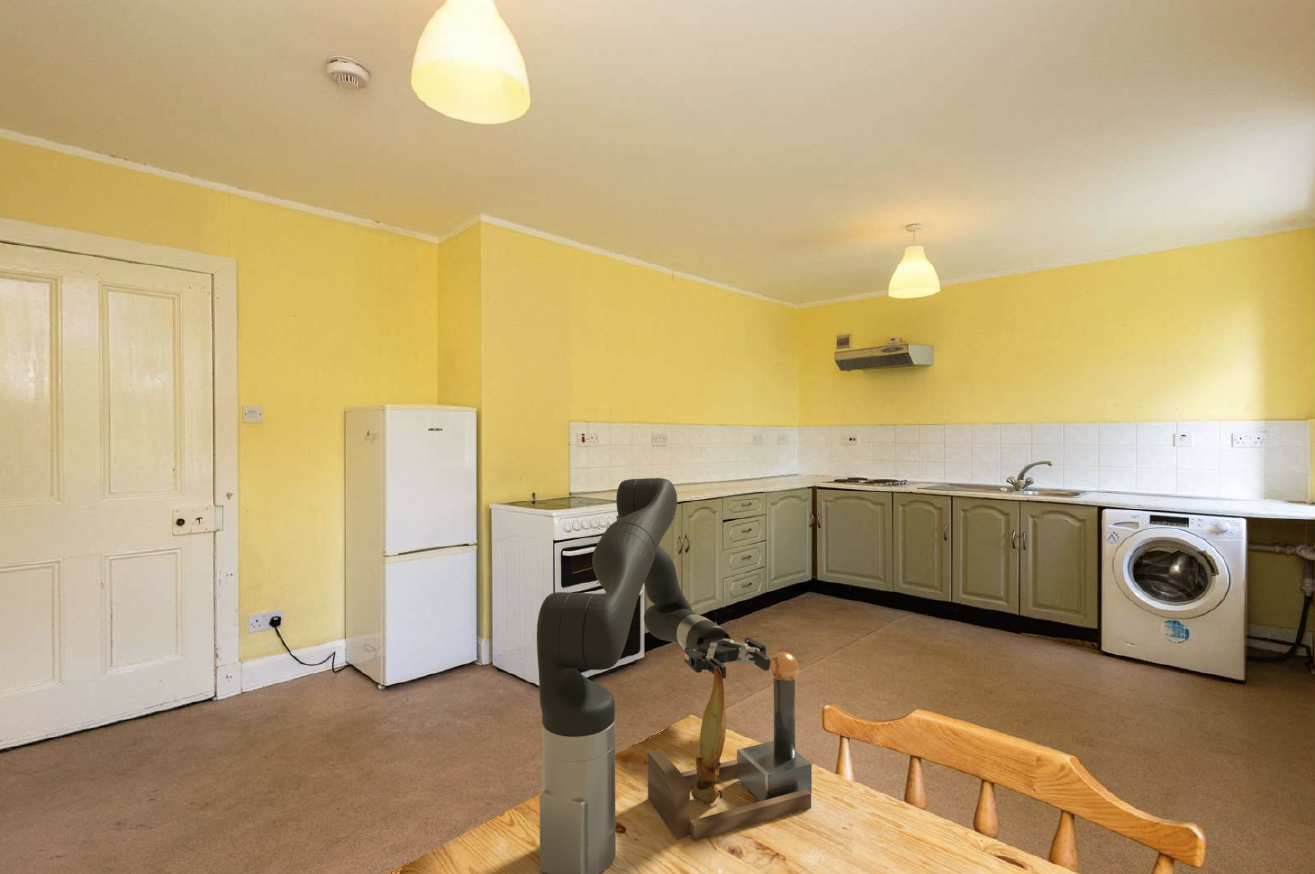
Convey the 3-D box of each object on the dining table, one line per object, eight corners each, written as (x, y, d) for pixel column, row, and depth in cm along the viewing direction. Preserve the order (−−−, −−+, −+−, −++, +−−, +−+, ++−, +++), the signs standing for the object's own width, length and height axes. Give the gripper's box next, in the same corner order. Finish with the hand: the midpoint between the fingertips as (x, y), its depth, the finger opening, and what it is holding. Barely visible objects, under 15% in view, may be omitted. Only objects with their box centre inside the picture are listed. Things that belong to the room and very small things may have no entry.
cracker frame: (680, 845, 81) (680, 791, 81) (644, 794, 92) (644, 747, 92) (811, 807, 89) (811, 758, 89) (763, 765, 100) (763, 722, 100)
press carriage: (765, 806, 88) (765, 667, 88) (737, 778, 96) (736, 650, 96) (812, 793, 91) (812, 659, 91) (781, 766, 99) (781, 643, 99)
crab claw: (728, 821, 86) (727, 676, 86) (691, 820, 86) (690, 676, 86) (725, 792, 93) (725, 658, 92) (691, 791, 93) (690, 658, 93)
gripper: (668, 624, 117) (709, 653, 102) (734, 615, 122) (781, 641, 107) (669, 664, 117) (709, 698, 102) (734, 652, 123) (781, 683, 108)
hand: (746, 669), depth 105 cm, fingers open, 8 cm apart
